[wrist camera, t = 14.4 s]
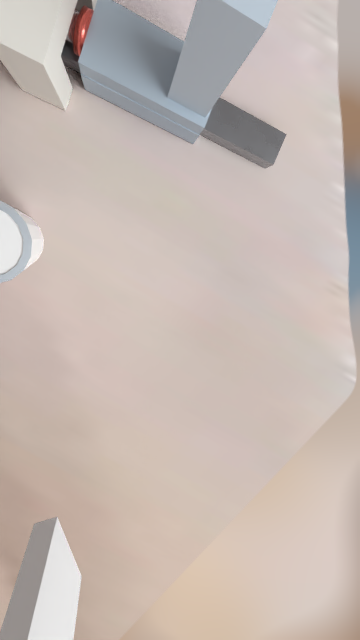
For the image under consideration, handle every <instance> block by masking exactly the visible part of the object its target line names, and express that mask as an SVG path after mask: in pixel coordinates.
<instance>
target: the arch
mask: <svg viewBox="0 0 360 640" xmlns="http://www.w3.org/2000/svg"><path fill="white" fill-rule="evenodd" d="M96 3H97V0H0V60H1V62H2V63H3V64H4V66H5V67H6V69H7V70H8V71H9V73H10V74H11V75H12V77H13V78H14V80H15V81H16V82H17V84H18V85H19V87H20V88H21V89H22V90H23V91H25V92H27V93H29V94H31V95H34V96H36V97H38V98H40V99H42V100H44V101H46V102H48V103H50V104H52V105H54V106H56V107H58V108H60V109H63V110H65V111H66V109H67V106H68V103H69V100H70V96H71V93H72V90H73V88H72V85H71V83H70V80H69V77H68V75H67V72H66V69H65V66H64V64H63V61H62V58H61V54H62V50H63V47H64V44H65V40H66V37H67V34H68V30H69V27H70V24H71V20H72V17H73V14H74V11H75V9H76V10H78V11H80V10H81V8H82V7H83V6H87V7H89V8H90V9H92V10H94V9H95V6H96Z"/></svg>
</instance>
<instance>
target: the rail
mask: <svg viewBox="0 0 360 640" xmlns="http://www.w3.org/2000/svg"><path fill="white" fill-rule="evenodd" d="M79 57H80V56H78V55H76V54H74V51H73V43H71V42H69V41H68V40H65V44H64V47H63V50H62V54H61V58H62V61H63V64H64V65H65V66H67V67H69V68H71V69H73V70H75V71H77V72H79V73H81V71H80V67H79V64H78V60H79ZM200 135H201V136H203V137H205V138H207V139H209V140H211V141H213V142H215V143H217V144H219V145H221V146H223V147H225V148H227V149H229V150H231V151H232V152H234V153H236V154H238V155H240V156H242V157H244V158H246V159H248V160H250V161H252V162H254V163H256V164H258V165H260V166H262V167H264V168H267V167H269V166H272V165H273V164H274V162H275V160H276V157H277V155H278V153H279V150H280V148H281V146H282V143H283V141H284V139H285V136H286V134H285V133H283V132H281V131H279V130H278V129H276V128H274V127H272V126H270V125H268V124H267V123H265V122H263V121H261V120H259V119H258V118H256V117H254V116H252V115H250V114H249V113H247V112H245V111H243V110H241V109H239V108H238V107H236V106H234V105H232V104H230V103H229V102H227V101H225V100H223V99H221V98H220V97H219V98H218V100H217V101H216V103H215V104H214V106H213V107H212V110H211V112H210V115H209V118H208V120H207V123H206V125H205V128H204V129H203V131H202V132H201V133H200Z"/></svg>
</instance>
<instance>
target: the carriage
mask: <svg viewBox="0 0 360 640" xmlns="http://www.w3.org/2000/svg"><path fill="white" fill-rule="evenodd" d="M277 1H278V0H197V2H196V5H195V9H194V12H193V15H192V18H191V22H190V25H189V28H188V31H187V35H186V38H185V41H182V40H180V39H178V38H177V37H175V36H173V35H171V34H170V33H168V32H166V31H165V30H163V29H161V28H159V27H158V26H156V25H154V24H152V23H151V22H149V21H147V20H146V19H144V18H142V17H140V16H139V15H137V14H135V13H133V12H132V11H130V10H128V9H127V8H125V7H123V6H121V5H120V4H118V3H116V2H114V1H113V0H97V3H96V6H95V9H94V12H93V16H92V19H91V22H90V25H89V28H88V32H87V35H86V38H85V41H84V44H83V48H82V51H81V54H80V57H79V60H78V64H79V67H80V71H81V77H82V81H83V84H84V88H85V90H87V91H89V92H91V93H93V94H95V95H97V96H99V97H101V98H103V99H105V100H107V101H109V102H111V103H113V104H115V105H117V106H119V107H121V108H122V109H124V110H126V111H128V112H130V113H132V114H134V115H136V116H138V117H140V118H142V119H144V120H146V121H148V122H150V123H152V124H154V125H156V126H158V127H160V128H162V129H164V130H166V131H168V132H170V133H172V134H174V135H176V136H178V137H180V138H182V139H184V140H186V141H188V142H190V143H192V144H193V143H194V142H195V141H196V139H197V138H198V137H199V135H200V133H201V132H202V131H203V129H204V128H205V125H206V123H207V120H208V118H209V115H210V112H211V110H212V107H213V106H214V104H215V103H216V101H217V100H218V98H219V97H220V96H221V94H222V93H223V91H224V90H225V88H226V87H227V85H228V84H229V82H230V81H231V79H232V78H233V77H234V75H235V74H236V72H237V71H238V69H239V68H240V66H241V65H242V63H243V62H244V61H245V59H246V58H247V56H248V55H249V53H250V52H251V50H252V49H253V47H254V46H255V44H256V43H257V42H258V40H259V39H260V37H261V36H262V34H263V33H264V31H265V30H266V28H267V26H268V23H269V21H270V18H271V16H272V13H273V11H274V8H275V6H276V3H277Z"/></svg>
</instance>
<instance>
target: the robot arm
mask: <svg viewBox="0 0 360 640" xmlns="http://www.w3.org/2000/svg"><path fill="white" fill-rule="evenodd" d="M80 584H81V574H80V572H79V569H78V567H77V564H76V562H75V559H74V557H73V554H72V552H71V549H70V547H69V545H68V542H67V540H66V537H65V535H64V532H63V530H62V527H61V525H60V522H59V520H58V517H55V518H52V519H48V520H45V521H42V522H38V523H35V524H34V526H33V530H32V533H31V536H30V539H29V542H28V545H27V549H26V552H25V555H24V558H23V561H22V564H21V568H20V571H19V574H18V577H17V580H16V584H15V587H14V590H13V593H12V596H11V599H10V603H9V606H8V609H7V612H6V615H5V618H4V622H3V625H2V628H1V631H0V640H73V638H74V630H75V623H76V615H77V607H78V599H79V592H80Z"/></svg>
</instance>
